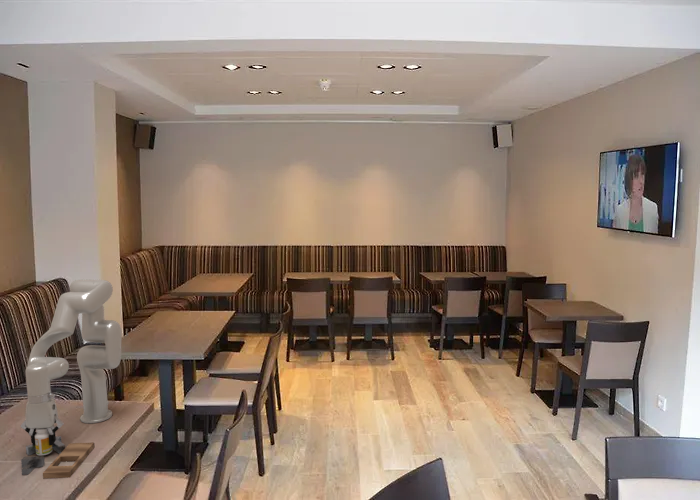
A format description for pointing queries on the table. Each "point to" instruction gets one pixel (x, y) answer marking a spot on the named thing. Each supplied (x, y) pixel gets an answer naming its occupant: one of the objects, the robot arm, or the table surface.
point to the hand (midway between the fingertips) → (43, 443)
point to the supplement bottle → (42, 442)
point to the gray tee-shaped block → (31, 464)
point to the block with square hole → (70, 453)
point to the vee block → (56, 446)
